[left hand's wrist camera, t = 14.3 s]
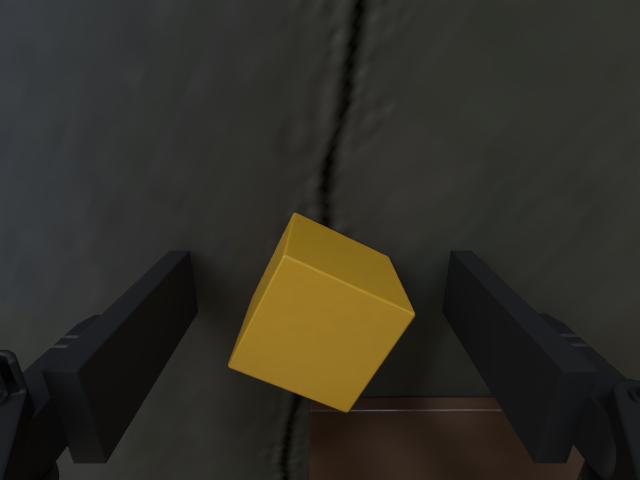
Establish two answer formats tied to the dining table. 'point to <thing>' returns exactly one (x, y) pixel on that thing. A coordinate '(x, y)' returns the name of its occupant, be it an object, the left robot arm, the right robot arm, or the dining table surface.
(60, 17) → the dining table surface
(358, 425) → the chest
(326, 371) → the block
